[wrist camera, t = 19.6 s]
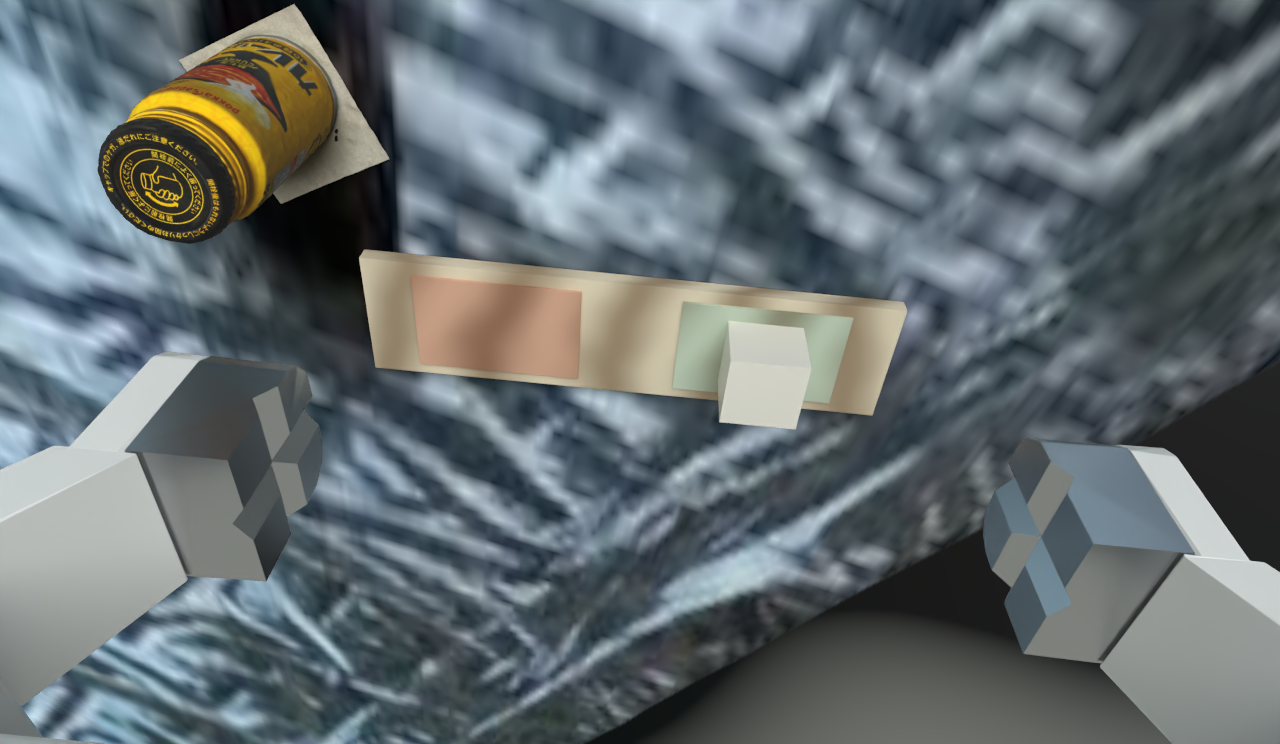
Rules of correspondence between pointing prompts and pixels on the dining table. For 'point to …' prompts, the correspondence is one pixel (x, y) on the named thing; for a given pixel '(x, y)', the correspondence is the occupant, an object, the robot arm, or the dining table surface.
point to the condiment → (236, 133)
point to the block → (763, 375)
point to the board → (611, 328)
